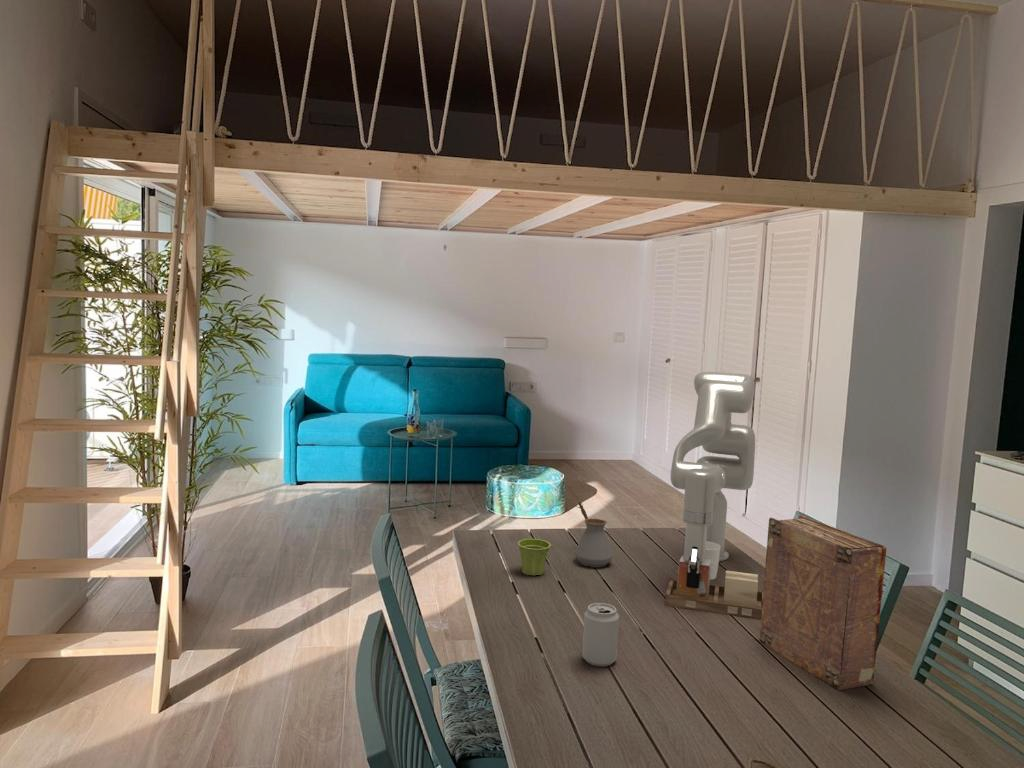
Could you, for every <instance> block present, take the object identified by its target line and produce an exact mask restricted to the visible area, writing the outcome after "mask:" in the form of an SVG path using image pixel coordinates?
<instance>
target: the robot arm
mask: <svg viewBox="0 0 1024 768" xmlns="http://www.w3.org/2000/svg"><path fill="white" fill-rule="evenodd" d="M693 385H694V390H695V393H696V394H697V404H696V411H695V419H694V426H693V429H692V430H690V431H689V432H688V433H686V434H685V435H684V436H683V437H682V438H681V439H680V441H679V442H677V445H676V446H675V449H674V452H673V455H672V461H671V462H672V463H671V469H670V481H671V482H670V483H671V484H672V486H673V487H674V488H676V489H678V490H684V498H683V499H684V500H683V512H682V513H683V514H682V515H683V516H682V522H683V523H685V524H686V527H685V534H684V535H685V536H684V549H683V556H684V558H683V560H684V561H686V560H688V559H689V565H688V571H687V581H686V587H689V588H697V589H698V588H699V579H700V573H699V565H700V563H701V562H702V561H703V557H704V552H705V546H706V541H707V542H713V543H716V544H718V545H720V556H719V562H723V561H726V560H728V559H729V557H730V554H729V552H727V551H726V550H725V543H726V542H725V541H726V528H727V527H726V526H727V514H728V513H727V511H728V502H727V498H726V496H725V495H724V493H723V491H722V489H726V490H727V489H728V490H737V491H747V490H749V489H750V488H752V485H753V482H754V473H755V472H754V471H755V469H754V468H755V457H756V455H755V454H756V434H755V431H754V429H753V428H752V427H750V426H748V425H743V424H735V423H734V424H733V423H732V413H733V414H747V413H748V412H749V411H750V409H751V408H752V403H753V399H754V396H755V393H756V392H755V390H756V388H755V387H756V384H755V380H754V378H753V377H752V375H749V374H744V373H743V374H742V373H730V372H729V373H728V372H727V373H726V372H720V371H719V372H716V371H702V372H699V373H697V374H696V375H695V376H694V380H693ZM701 446H702V449H703V451H705V452H707V453H709V454H716V455H717V454H718V455H724V456H726V455H727V456H735V457H737V458H735V457H727V456H726V457H724V456H718V455H717V456H715V455H705V456H701V457H700V458H698V460H696V462H691V461H690V462H689V461H684V459H685V457H686V455H687V454H688V453H689V452H690V451H692V450H694V449H696V448H698V447H701ZM696 559H698V561H696ZM696 564H697V565H696Z"/></svg>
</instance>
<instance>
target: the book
mask: <svg viewBox="0 0 1024 768" xmlns="http://www.w3.org/2000/svg"><path fill="white" fill-rule="evenodd" d="M767 528H768V529H767V542H766V552H765V553H766V557H765V565H764V568H765V569H764V580H763V582H764V583H763V590H762V591H763V604H762V617H761V619H760V633H759V643H761V644H762V645H764V646H765V647H767V648H768V649H770V650H772V651H773V652H775V653H777V654H779V655H780V656H782V657H784V658H785V659H787V660H788V661H790V662H791V663H793V664H795V665H796V666H798V667H800V668H802V669H803V670H805V671H806V672H808V673H809V674H811V675H813V676H814V677H816V678H818V679H820V680H821V681H823V682H825V683H826V684H828V685H829V686H830V687H833V688H834V689H836V690H837V691H843V690H848V689H854V688H860V687H865V686H870V685H873V684H874V679H875V678H874V676H875V669H876V666H875V665H876V658H877V657H876V656H877V648H878V639H879V630H880V629H879V628H880V627H879V626H880V618H881V607H882V606H881V605H882V599H883V598H882V597H883V590H884V589H883V588H884V578H885V569H886V568H885V567H886V556H887V547H886V546H885V545H882V544H880V543H877V542H874V541H871V540H868V539H866V538H863V537H860V536H858V535H856V534H852V533H850V532H847V531H844V530H842V529H840V528H836V527H834V526H832V525H828V524H826V523H823V522H820V521H817V520H815V519H813V518H810V517H807V516H804V515H799V516H798V518H793V519H791V518H790V519H776V518H774V517H769V519H768V527H767Z"/></svg>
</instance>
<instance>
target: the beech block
mask: <svg viewBox="0 0 1024 768" xmlns="http://www.w3.org/2000/svg"><path fill="white" fill-rule="evenodd" d="M724 586H725V591H724V603H730V604H737V605H744V606H751V607H756V603H757V590H758V589H759V587H758V586H759V574H756V573H747V572H740V571H739V572H738V571H733V570H731V571H730V570H725V580H724Z"/></svg>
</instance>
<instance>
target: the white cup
mask: <svg viewBox="0 0 1024 768" xmlns="http://www.w3.org/2000/svg"><path fill="white" fill-rule="evenodd" d="M719 556H720V545H718V544H716V543H713V542H707V541H706V546H705V552H704V557H703V559H709V560H711V572H710V581H711V580H714V579H717V576H718V575H717V574H718V570H719V562H720V561H719Z"/></svg>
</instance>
